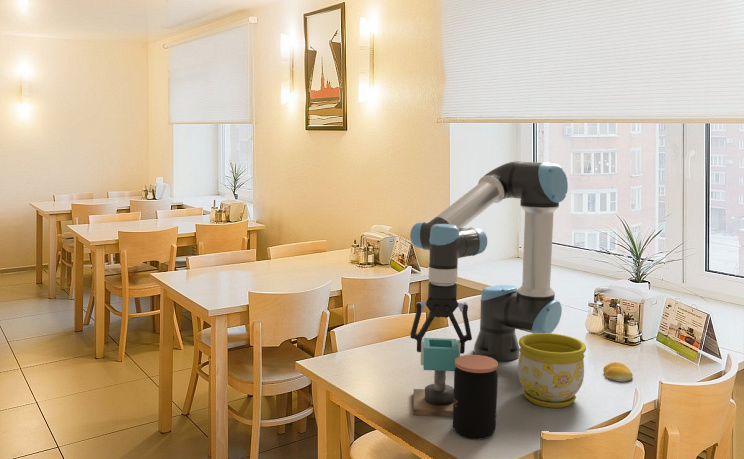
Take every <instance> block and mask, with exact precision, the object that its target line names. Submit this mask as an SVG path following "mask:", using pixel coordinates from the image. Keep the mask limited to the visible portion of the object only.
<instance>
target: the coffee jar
mask: <svg viewBox="0 0 744 459" xmlns="http://www.w3.org/2000/svg"><path fill="white" fill-rule="evenodd" d="M455 366H456V368H455V370H454V371H453V374H454V375H453V388H454V399H453V416H452V428H453V430H454V431H455V432H456V434H457V435H459V436H460V437H462V438H464V439H469V440H484V439H488V438H490V437H492V435H493V434H494V433H495V431H496V429H497V428H496V427H497V403H498V380H499V379H498V378H499V376H498V370H497V369H498V367H499V361H496V360H495V359H493V358H490V357H487V356H482V355H475V354H465V355H460V357H457V358H456V359H455Z"/></svg>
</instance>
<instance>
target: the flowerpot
mask: <svg viewBox="0 0 744 459" xmlns="http://www.w3.org/2000/svg"><path fill="white" fill-rule="evenodd" d="M518 345H519V348H520V354H519V357H518V363H517V373H518V375H517V376H518V379H519V381H520V385H521V386H522V387H523V391H522V393H523V395H524V396H525V397H526V399H527V400H528V401H529V402H531V403H533V404H534V405H538V406H540V407H544V408H553V409H555V408H556V409H557V408H558V409H559V408H566V407H568V406H570V405H571V404H572V403H573V402H574V401H576V399H577V396H576V395H577V393H578V392H579V391H580V389H581V387H582V385H583V382H584V379H585V378H584V377H585V362H584V358H585V354H584V353H585V352H586V350H587V345H586V344H585V343H584V342H583V341H582V340H580V339H578V338H576V337H572V336H569V335H565V334H559V333H553V332H552V333H535V334H533V333H528V334H526V335H523V336H521V337H520V338H519V340H518Z"/></svg>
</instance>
